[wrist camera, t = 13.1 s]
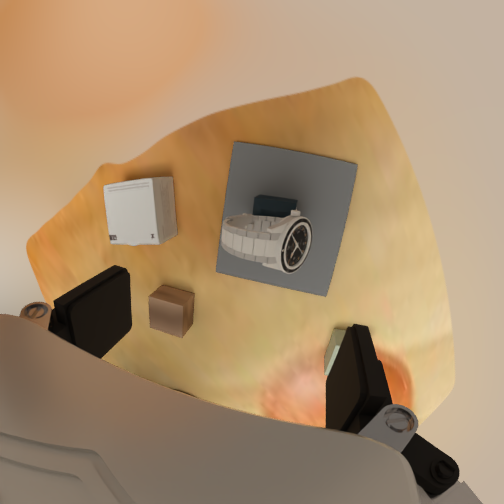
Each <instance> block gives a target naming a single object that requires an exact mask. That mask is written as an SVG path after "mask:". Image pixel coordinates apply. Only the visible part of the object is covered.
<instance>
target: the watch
mask: <svg viewBox="0 0 504 504" xmlns="http://www.w3.org/2000/svg"><path fill="white" fill-rule="evenodd" d="M297 202H298V200H295V199H288V198H282V197H275V196H268V195H261V194H259V195H257V196H256V197H254V205H253V214H246V213H243V215H235V216H230V217H226V218H225V220H224V221H223V226H222V237H221V246H222V247H223V249H225V250H226V251H227V252H228V253H230V254H232V255H235V256H237V257H240V258H243V259H247V260H250V261H255V259H256V262H261V263H263V264H262V265H263V266H266V267H269V268H273V269H277V270H281V271H283V272H284V273H287V274H291V273H294V272H296V271H297V270H298V269H299V268H300V267H301V266H302V264H303V263H304V261H305V260H306V258H307V256H308V253H309V251H310V247H311V243H312V233H313V232H312V226H311V223H310V221H309V220H308V219H307V218H306V217H302V216H300V211H297ZM299 216H300V217H299Z"/></svg>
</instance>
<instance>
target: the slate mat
mask: <svg viewBox="0 0 504 504" xmlns="http://www.w3.org/2000/svg"><path fill="white" fill-rule="evenodd" d="M357 166H358V165H357V164H353V163H349V162H345V161H340V160H336V159H332V158H327V157H323V156H318V155H313V154H308V153H303V152H298V151H293V150H287V149H281V148H275V147H269V146H263V145H256V144H249V143H242V142H234V144H233V151H232V157H231V163H230V170H229V177H228V183H227V190H226V197H225V204H224V211H223V219H222V226H223V221H224V220H225V218H226V217H230V216H235V215H243V213H246V214H253V205H254V197H256V196H257V195H259V194H261V195H268V196H275V197H282V198H288V199H295V200H298V202H297V211H300V216H302V217H306V218H307V219H308V220H309V221H310V223H311V226H312V232H313V233H312V243H311V247H310V251H309V253H308V256H307V258H306V260H305V261H304V263H303V264H302V266H301V267H300V268H299V269H298V270H297V271H296V272H294V273H291V274H287V273H284V272H283V271H281V270H277V269H273V268H269V267H266V266H263V265H262V264H263V263H261V262H256V259H255V261H250V260H247V259H243V258H240V257H237V256H235V255H232V254H230V253H228V252H227V251H226V250H225V249H223V247H222V246H221V237H222V226H221V234H220V241H219V249H218V257H217V265H216V272H218V273H222V274H227V275H231V276H235V277H239V278H244V279H248V280H252V281H257V282H261V283H265V284H270V285H274V286H279V287H283V288H288V289H292V290H297V291H301V292H306V293H311V294H315V295H320V296H325V297H326V295H327V292H328V289H329V285H330V282H331V278H332V274H333V271H334V267H335V263H336V260H337V256H338V252H339V248H340V244H341V240H342V236H343V232H344V228H345V223H346V219H347V215H348V210H349V206H350V201H351V196H352V192H353V187H354V182H355V177H356V171H357ZM300 216H299V217H300Z"/></svg>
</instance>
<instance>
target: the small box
mask: <svg viewBox="0 0 504 504" xmlns="http://www.w3.org/2000/svg"><path fill="white" fill-rule="evenodd" d="M104 199H105V207H106V215H107V223H108V230H109V237H110V243H111V244H127V245H131V246H137V245H140V244H142V245H160V244H162V243H164V242H166V241H167V240H169V239H171V238H173V237H174V236H176V235H178V231H177V222H176V211H175V198H174V186H173V177H153V178H143V179H136V180H129V181H123V182H118V183H112V184H108V185H104Z"/></svg>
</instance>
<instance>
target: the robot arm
mask: <svg viewBox="0 0 504 504" xmlns="http://www.w3.org/2000/svg"><path fill="white" fill-rule="evenodd" d="M54 307H55V308H54V309H53V310H52V308H51V306H50V305H49V304H47V303H44V302H33V303H30V304H28V305H26V306H25V307H24V308H23V309H22V310H21V313H20V316H19V317H18V316H13V315H8V314H0V504H482V502H481V501H480V500H479V499H478V498H477V496H476V495H475V494H474V493H473V491H472V490H471V489H470V488H469V487H468V485H467V484H466V483H465V482H464V481H463V482H462V483H460V482H459V481H458V477H459V468H458V465H457V463H456V462H455V461H454V460H453V459H452V458H451V457H449V456H448V455H446V454H445V453H444V452H442V451H441V450H439V449H438V448H436V447H435V446H433V445H432V444H431V443H429V442H428V441H426V440H425V439H424V438H422V437H421V436H419V435H418V434H417V433H415V432H416V430H417V428H418V420H417V417H416V415H415V414H414V413H413V412H412V411H411V410H410V409H408V408H407V407H405V406H402V405H398V404H393V403H392V399H391V395H390V391H389V387H388V383H387V380H386V376H385V372H384V369H383V365H382V363H381V361H380V360H378V359H377V356H376V352H375V349H374V345H373V342H372V338H371V335H370V332H369V328H368V326H363V325H358V324H354V325H353V326H352V327H348V328H347V330H346V332H345V335H344V338H343V340H342V343H341V345H340V348H339V350H338V353H337V355H336V358H335V360H334V363H333V365H332V367H331V370H330V372H329V374H328V377H327V380H326V428H322V427H316V426H311V425H305V424H300V423H294V422H289V421H284V420H279V419H274V418H269V417H265V416H260V415H256V414H252V413H248V412H244V411H240V410H236V409H233V408H229V407H225V406H222V405H219V404H215V403H212V402H209V401H205V400H202V399H199V398H196V397H193V396H190V395H188V394H186V393H183V392H180V391H176V390H173V389H170V388H167V387H165V386H162V385H160V384H157V383H154V382H152V381H149V380H147V379H144V378H142V377H140V376H137V375H135V374H133V373H130V372H128V371H126V370H123V369H121V368H119V367H117V366H115V365H112V364H110V363H108V362H106V361H104V360H102V359H101V358H102V357H103V356H104V355H105V354H106V353H107V352H108V351H109V350H110V349H111V348H112V347H113V346H114V345H115V344H116V343H117V342H118V341H120V340H121V339H122V338H123V337H124V336H125V335H126V334H127V333H128V332H129V331H130V329H131V327H132V314H131V292H130V274H129V273H128V271H127V269H126V268H123V267H120V266H116V265H114V266H112V267H110V268H108V269H107V270H105V271H103V272H101V273H100V274H98V275H96V276H94V277H93V278H91V279H89V280H87V281H86V282H84V283H82V284H81V285H79V286H77V287H76V288H74V289H72V290H71V291H69V292H67V293H66V294H64V295H62V296H61V297H59V298H57V299H56V300H54Z"/></svg>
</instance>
